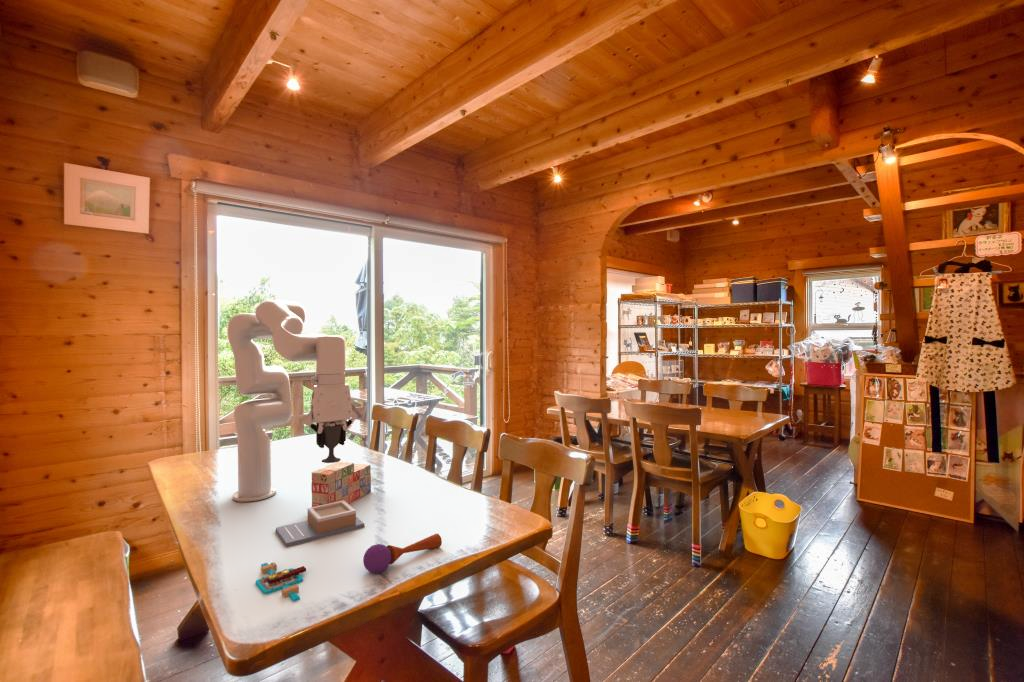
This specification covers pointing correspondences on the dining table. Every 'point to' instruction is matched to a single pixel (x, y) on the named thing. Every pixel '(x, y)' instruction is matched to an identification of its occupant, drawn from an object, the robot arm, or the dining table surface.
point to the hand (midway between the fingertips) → (331, 444)
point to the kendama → (395, 553)
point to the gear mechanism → (276, 579)
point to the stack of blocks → (340, 483)
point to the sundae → (332, 439)
